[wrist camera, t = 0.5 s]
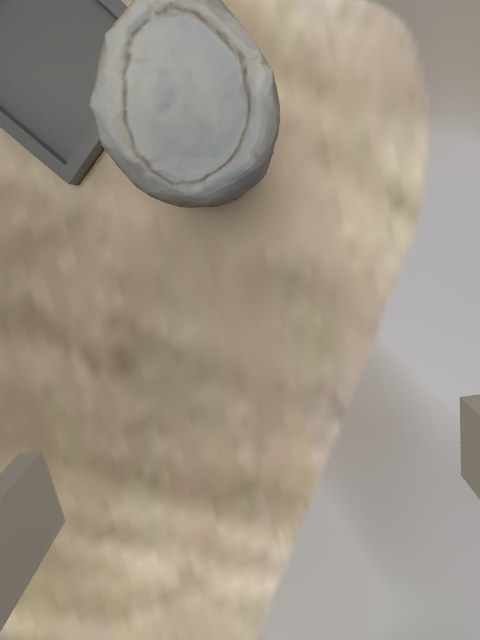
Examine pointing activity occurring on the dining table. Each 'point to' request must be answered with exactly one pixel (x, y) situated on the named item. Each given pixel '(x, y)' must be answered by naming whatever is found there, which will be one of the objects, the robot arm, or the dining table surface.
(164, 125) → the spray can
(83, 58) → the tray
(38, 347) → the dining table surface
